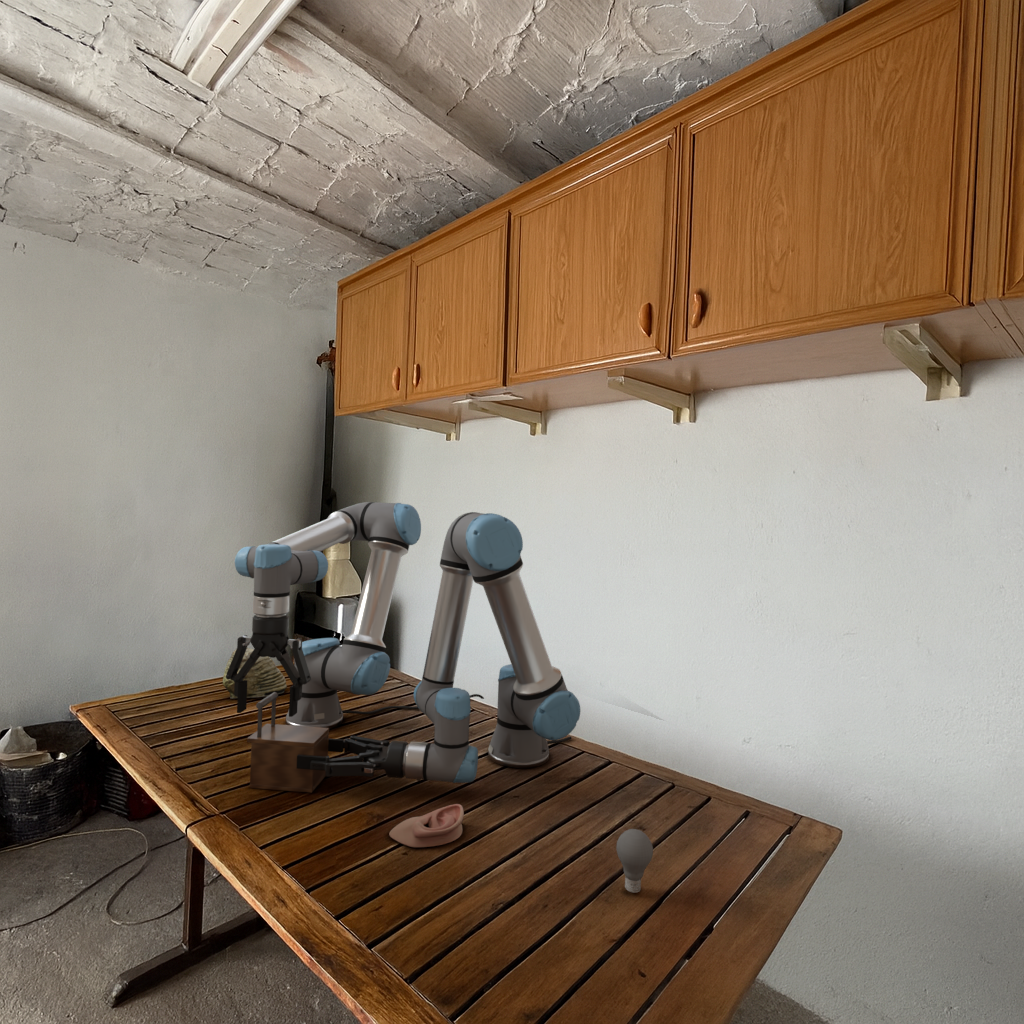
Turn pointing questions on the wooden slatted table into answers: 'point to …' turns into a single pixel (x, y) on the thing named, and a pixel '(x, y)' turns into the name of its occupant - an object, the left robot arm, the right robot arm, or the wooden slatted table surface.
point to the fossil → (258, 677)
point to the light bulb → (634, 857)
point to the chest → (285, 766)
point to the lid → (284, 730)
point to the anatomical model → (431, 828)
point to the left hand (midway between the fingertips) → (267, 712)
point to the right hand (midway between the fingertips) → (306, 752)
